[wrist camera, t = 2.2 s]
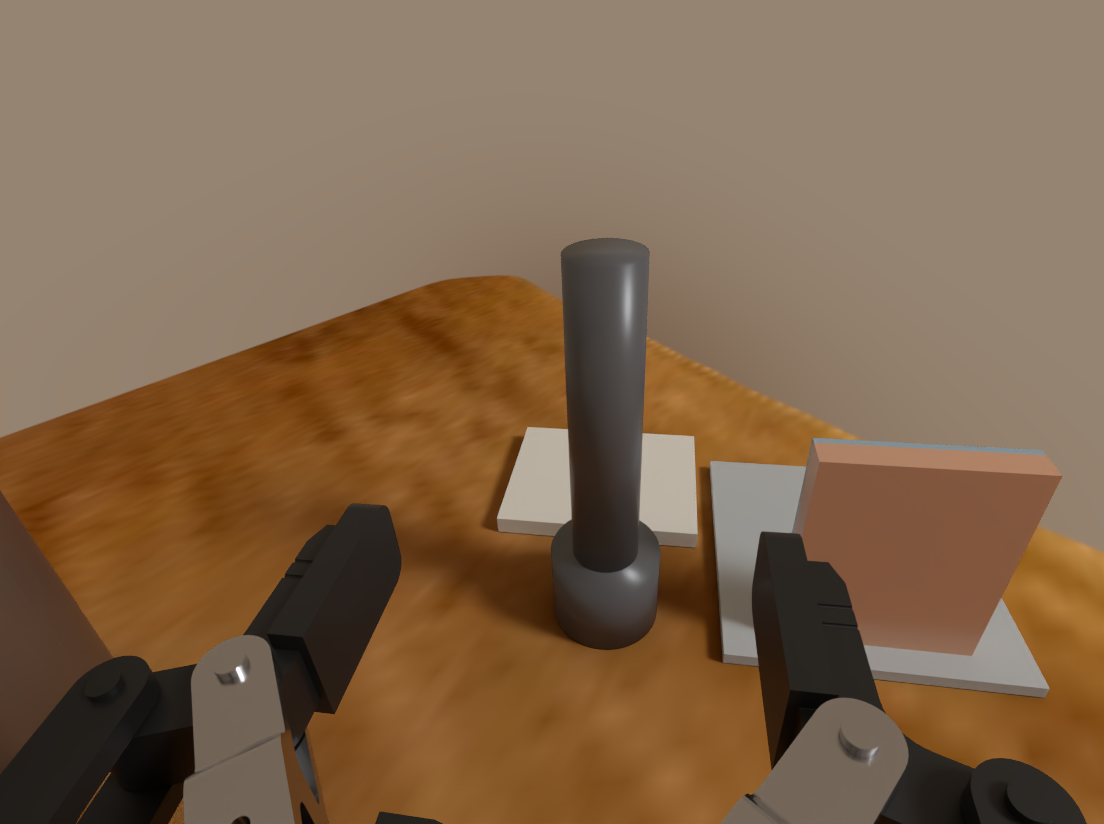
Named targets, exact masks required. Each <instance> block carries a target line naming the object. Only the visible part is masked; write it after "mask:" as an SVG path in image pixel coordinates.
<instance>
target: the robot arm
mask: <svg viewBox="0 0 1104 824" xmlns="http://www.w3.org/2000/svg"><path fill="white" fill-rule="evenodd" d="M400 570H401V554H400V550H399V546H398V542H397V538H396V534H395V531H394V527H393V523H392V519H391V515H390V512H389V509H388V508H387V507H386V506H384V505H369V504H351V505H350V506H349V507H348V508H347V509H346V511H345V512H344V514H343V515H342V517H341V519H340V520H339V522H338V523H337V525H336V526H334V525H327V526H325V527H324V528H323V529H322V530H320V531H319V532H318V533H317V534H315V535H314V536H313V537H312V538H310V539H309V540H308V541H307V542H306V544H305V545H304V547H303V548H302V550H301V551H300V553H299V554H298V556H297V557H296V558H295V563H292V564H291V566H290V567H289V569H288V570H287V572H286V573H285V577H284V578H282V579H281V581H280V582H279V583H278V585H277V586H276V588H275V589H274V591H273V592H272V594H271V595H270V597H269V598H268V600H267V601H266V603H265V604H264V605H263V607H262V608H261V610H260V611H259V613H258V614H257V616H256V617H255V619H254V620H253V622H252V623H251V625H250V626H249V628H248V629H247V630H246V632H245V633H244V634H243V636H238V637H234V638H231V639H228V640H226V641H224V642H222V643H220V644H218V645H217V646H215V647H214V648H212V649H211V650H210V651H209V652H207V653H206V654H205V655H204V656H203V657H202V659H201V660H200V661H199V662H198V664H194V665H189V666H184V667H178V668H173V669H168V670H163V671H157V672H152V671H151V669H150V668H149V666H148V664H147V663H146V662H145V660H143V659H142V658H139V657H137V656H121V657H117V658H113V656H112V655H111V653H110V652H109V650H108V649H107V647H106V646H105V644H104V643H103V642H102V640H101V639H100V637H99V636H98V634H97V633H96V631H95V630H94V628H93V627H92V625H91V624H90V622H89V621H88V619H87V618H86V617H85V615H84V614H83V612H82V611H81V609H80V607H79V606H78V604H77V602H76V601H75V599H74V598H73V597H72V595H71V594H70V592H69V591H68V589H67V588H66V586H65V585H64V583H63V582H62V580H61V579H60V577H59V576H58V575H57V573H56V572H55V570H54V569H53V567H52V566H51V564H50V563H49V561H48V560H47V558H46V557H45V556H44V554H43V553H42V551H41V550H40V548H39V547H38V545H37V544H36V542H35V541H34V539H33V538H32V536H31V535H30V534H29V532H28V531H27V529H26V528H25V526H24V525H23V523H22V522H21V520H20V519H19V517H18V516H17V514H16V513H15V512H14V510H13V509H12V507H11V506H10V504H9V503H8V501H7V500H6V498H5V497H4V495H3V494H2V493H1V491H0V824H76V823H77V820H78V818H79V817H80V815H81V813H82V812H83V810H84V809H85V807H86V806H87V804H88V803H89V801H90V800H91V798H92V797H93V795H94V794H95V793H96V791H97V790H98V788H99V787H100V785H101V784H102V782H103V781H104V779H105V778H106V776H107V775H108V773H109V772H111V774H110V776H109V777H108V779H107V780H106V781H105V783H104V784H103V786H102V787H101V789H100V790H99V792H98V793H97V795H96V796H95V798H94V799H93V801H92V802H91V804H90V805H89V807H88V808H87V810H86V811H85V813H84V814H83V816H82V817H81V819H80V820H79V822H78V823H77V824H168V823H169V821H170V820H171V818H172V816H173V814H174V812H175V811H176V809H177V807H178V805H179V804H180V802H181V800H182V798H183V800H184V824H329V821H328V818H327V814H326V810H325V806H324V801H323V796H322V792H321V787H320V782H319V778H318V773H317V768H316V764H315V759H314V754H313V750H312V745H311V740H310V736H309V732H308V729H307V725H308V723H309V721H310V719H311V717H312V715H313V713H314V712H321V713H330V714H335V712H336V710H337V708H338V706H339V704H340V701H341V699H342V697H343V695H344V693H345V691H346V689H347V687H348V685H349V683H350V681H351V678H352V676H353V674H354V672H355V670H356V668H357V666H358V664H359V662H360V660H361V658H362V655H363V653H364V651H365V649H366V647H367V645H368V643H369V641H370V639H371V637H372V634H373V632H374V630H375V628H376V626H377V624H378V622H379V620H380V618H381V616H382V614H383V611H384V609H385V607H386V605H387V603H388V601H389V599H390V597H391V595H392V593H393V591H394V588H395V586H396V584H397V582H398V579H399V575H400ZM752 616H753V624H754V632H755V640H756V648H757V656H758V664H759V672H760V680H761V688H762V697H763V705H764V713H765V721H766V729H767V737H768V745H769V753H770V761H771V769H772V771H771V772H770V774H769V775H768V776H767V778H766V779H765V780H764V782H763V783H762V784H761V786H760V787H759V788H758V790H757V791H756V792H755V793H754V794H752V795H749V794H746V795H744V796H743V797H742V798H741V799H740V800H739V801H738V802H737V803H736V804H735V805H734V807H733V808H732V809H731V810H730V812H729V813H728V814H727V816H726V817H725V818H724V820H723V821H722V822H721V824H1087V823H1086V821H1085V819H1084V816H1083V814H1082V813H1081V811H1080V809H1079V807H1078V806H1077V804H1076V803H1075V801H1074V800H1073V799H1072V797H1071V796H1070V795H1069V794H1068V793H1067V792H1066V791H1065V790H1064V789H1063V788H1062V787H1061V786H1060V785H1059V784H1058V783H1057V782H1056V781H1054V780H1053V779H1052V778H1050V777H1049V776H1048V775H1046V774H1045V773H1043V772H1041V771H1040V770H1038V769H1036V768H1034V767H1032V766H1030V765H1028V764H1025V763H1022V762H1020V761H1016V760H1012V759H1004V758H996V759H990V760H986V761H984V762H982V763H981V764H979V765H978V766H977V767H976V768H975V769H974V768H971V767H969V766H966V765H964V764H961V763H959V762H956V761H954V760H951V759H949V758H946V757H944V756H941V755H939V754H936V753H934V752H932V751H929V750H927V749H925V748H923V747H921V746H920V745H918V744H916V743H915V742H913V741H912V740H911V739H909V738H908V737H906V736H905V735H904V734H903V733H902V732H901V731H900V729H899V727H898V726H897V725H896V724H895V723H894V721H893V720H892V719H891V718H890V717H889V716H887V715H886V713H885V711H884V709H883V707H882V705H881V702H880V700H879V696H878V693H877V689H876V686H875V683H874V679H873V676H872V672H871V669H870V665H869V662H868V658H867V655H866V652H865V648H864V645H863V641H862V638H861V634H860V631H859V630H858V624H857V621H856V617H855V614H854V611H852V603H851V600H850V597H849V593H848V590H847V586H846V583H845V582H844V581H843V579H842V578H841V577H840V576H839V574H838V573H837V572H836V571H835V570H834V568H833V567H832V566H831V565H830V563H829V562H819V561H807V556H806V552H805V548H804V544H803V540H802V537H801V535H800V534H797V533H781V532H766V531H762V532H761V534H760V538H759V544H758V551H757V557H756V564H755V570H754V577H753V583H752ZM375 824H442V823H440V822H438V821H436V820H433V819H426V818H420V817H413V816H406V815H400V814H393V813H386V812H379V815H378V818H377V820H376V823H375Z"/></svg>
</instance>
